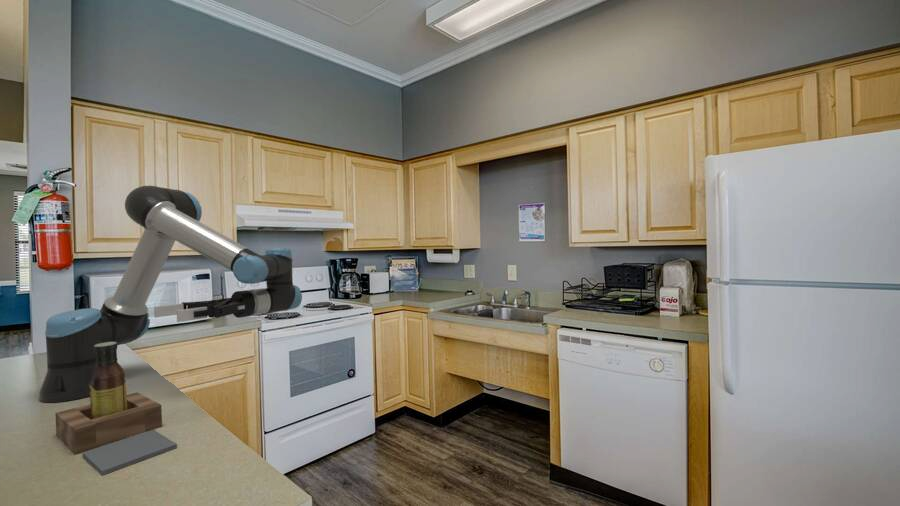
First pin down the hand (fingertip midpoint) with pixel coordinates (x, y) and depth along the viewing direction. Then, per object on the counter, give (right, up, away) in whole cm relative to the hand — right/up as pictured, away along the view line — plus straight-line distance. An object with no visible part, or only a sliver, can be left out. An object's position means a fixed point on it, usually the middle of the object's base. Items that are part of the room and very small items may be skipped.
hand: (165, 314), depth 101 cm
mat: (+6, -25, -19) cm, 32 cm away
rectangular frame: (-6, -25, -9) cm, 27 cm away
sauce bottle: (-6, -25, -9) cm, 27 cm away
